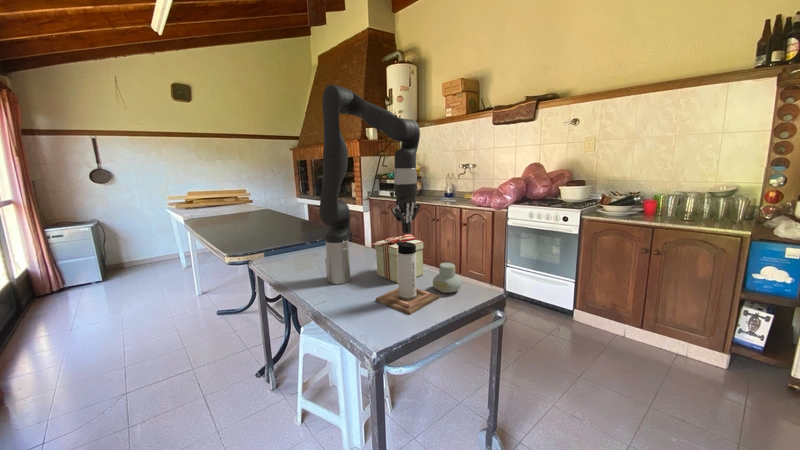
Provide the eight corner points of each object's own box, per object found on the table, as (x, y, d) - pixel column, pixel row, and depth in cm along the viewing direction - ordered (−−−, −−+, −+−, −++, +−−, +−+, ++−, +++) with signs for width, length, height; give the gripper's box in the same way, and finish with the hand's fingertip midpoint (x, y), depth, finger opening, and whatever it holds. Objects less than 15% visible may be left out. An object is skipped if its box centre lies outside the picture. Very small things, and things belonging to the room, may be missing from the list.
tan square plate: (375, 300, 115) (375, 295, 114) (405, 287, 126) (405, 282, 126) (410, 314, 104) (410, 308, 104) (439, 298, 116) (439, 292, 115)
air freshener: (429, 290, 123) (428, 265, 121) (440, 283, 129) (440, 259, 127) (454, 297, 116) (455, 270, 114) (465, 289, 123) (465, 264, 121)
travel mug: (397, 293, 118) (396, 240, 114) (415, 292, 118) (414, 239, 114) (398, 301, 112) (397, 245, 107) (417, 300, 112) (417, 244, 108)
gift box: (395, 265, 152) (395, 229, 149) (425, 274, 139) (425, 235, 136) (367, 274, 141) (366, 236, 137) (397, 286, 128) (396, 243, 124)
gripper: (409, 180, 114) (410, 228, 118) (383, 183, 104) (385, 235, 108) (426, 181, 109) (427, 231, 113) (400, 184, 100) (401, 238, 103)
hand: (406, 233), depth 110 cm, fingers closed
